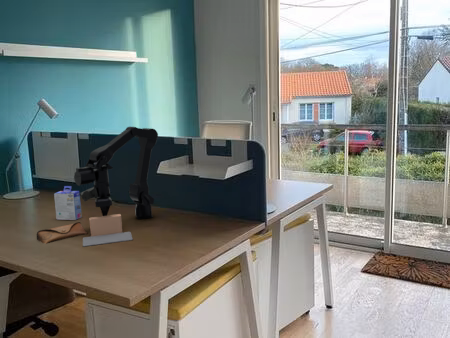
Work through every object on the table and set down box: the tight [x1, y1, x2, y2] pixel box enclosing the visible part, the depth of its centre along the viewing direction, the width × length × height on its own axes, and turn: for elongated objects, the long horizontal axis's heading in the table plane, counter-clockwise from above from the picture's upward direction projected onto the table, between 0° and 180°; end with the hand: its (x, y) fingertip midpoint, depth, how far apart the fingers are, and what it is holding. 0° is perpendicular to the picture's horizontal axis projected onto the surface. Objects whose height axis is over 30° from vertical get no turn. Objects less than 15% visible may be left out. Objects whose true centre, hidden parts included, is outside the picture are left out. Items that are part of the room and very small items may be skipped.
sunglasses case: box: [36, 221, 88, 245], centre depth 175 cm, size 18×7×7 cm, turn 130°
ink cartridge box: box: [53, 185, 83, 221], centre depth 198 cm, size 10×6×14 cm, turn 78°
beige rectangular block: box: [88, 213, 123, 237], centre depth 176 cm, size 12×3×7 cm, turn 107°
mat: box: [82, 231, 133, 247], centre depth 169 cm, size 18×10×1 cm, turn 107°
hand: (104, 218), depth 183 cm, fingers closed
